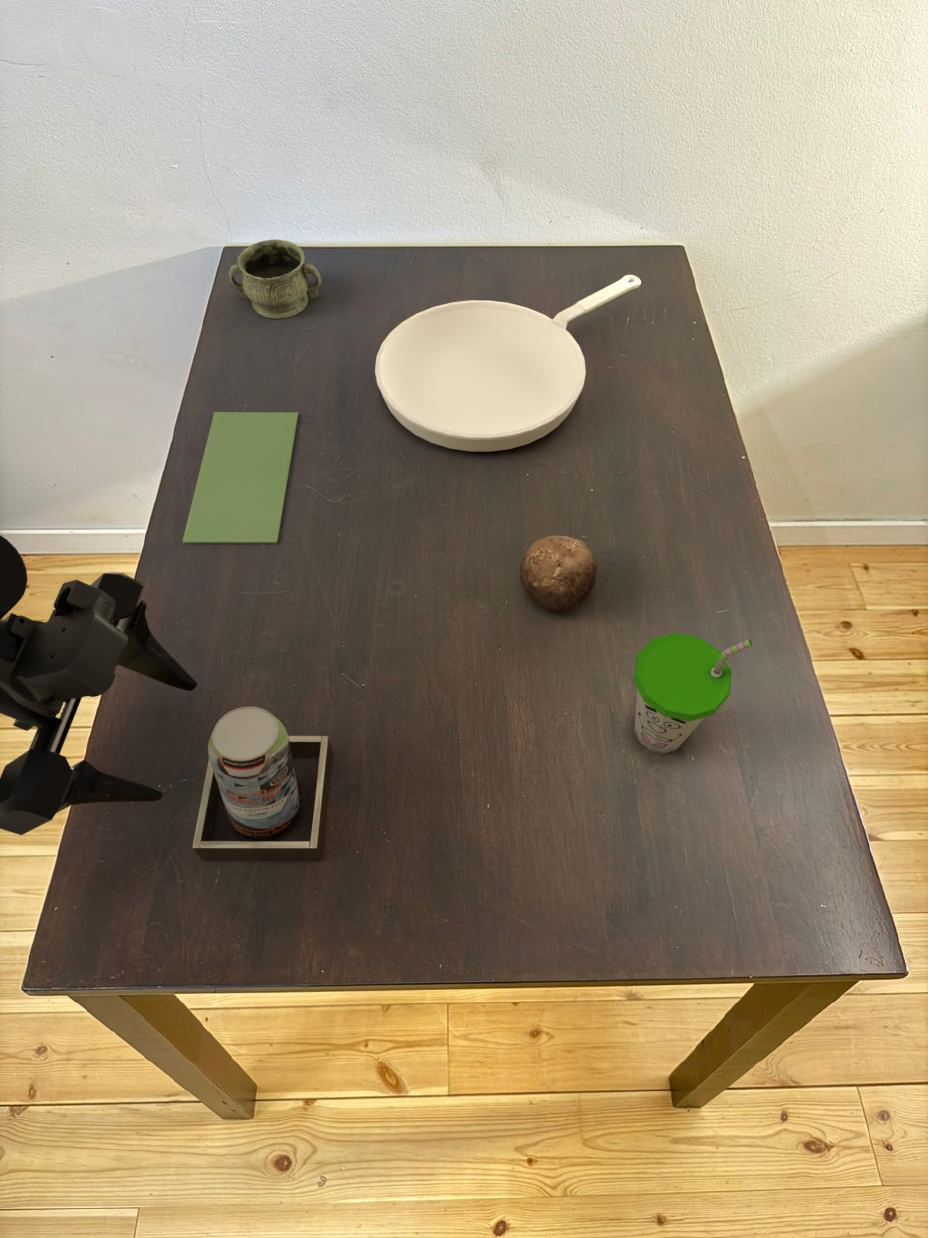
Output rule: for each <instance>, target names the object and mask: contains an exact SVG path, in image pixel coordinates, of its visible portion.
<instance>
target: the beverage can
mask: <svg viewBox="0 0 928 1238" xmlns="http://www.w3.org/2000/svg"><path fill="white" fill-rule="evenodd" d="M288 736H289V735H288V731H287V729H286V727H285V726H284V724H283V722H281V720H280V719H279V718H277V717H276V716H274V715H273V714H272V713H271V712H270V711H268V710H266V709H264V708H262V707H259V706H243V707H238V708H235V709H233V710H229V712H227V713H226V714H224V715H223V716H222V717H221V718H220V719H219V720H218V721H217V722H216V724H215V725H214V728H213V730H212V732H211V734H210V738H209V740H208V745H207V753H208V759H209V758H210V761H211V764H212V767H213V771H214V774H215V777H216V780H217V783H218V786H219V789H220V797H221V798H222V802H223V805H224V808H225V812H226V815H227V817H228V821H229V822H230V825H231V826H232V827H233V829H234V830H236V832H237V833H240V834H241V835H243V836H244V837H247V838H250V839H251V838H252V839H266V838H271V837H274V836H277V835H279V834H281V833H283V832H284V831H285V830H287V829H288V828H289V827H291V825H292V824H293V823H294V821H295V820H296V818H297V817H298V815H299V812H300V808H301V796H300V792H299V786H298V782H297V781H298V780H297V777H296V771H295V770H296V769H295V766H294V760H293V757H292V755H291V750H290V744H289V739H288Z"/></svg>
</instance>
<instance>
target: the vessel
mask: <svg viewBox="0 0 928 1238" xmlns="http://www.w3.org/2000/svg"><path fill="white" fill-rule="evenodd" d="M304 262H305V253H304V251H303V249H302V248H301V247H300V246H298V244H296V243H294V242H292V241H289V240H282V239H277V238H276V239H268V240H267V239H266V240H261V241H258V242H255V243H253V244H251V245H249V246H248V247H246V248H244V249H243V250H242V251H241V252H240V254H239V255H238V257H237V263H235V264H231V266H230V268H229V271H228V278H229V281H230V283H231V285H232V286H233V287H234V288H235V289H237V291H238V296H240V297H241V298H248V299H249V300H250V301H251V307H252V309H253V310H254V311H255V312H256V313H257V314H258V315H260V316H262V317H264V318H267V319H274V320H277V319H286V318H287V319H288V318H290V317H293V316H296V315H298V314H299V313H300V312H302V311H304V309H305V308H306V307H307V305H308V303H309V299H308V295H309V297H310V299H315V298H317V297H318V296H319V292H318V289H319V288H320V287H321V284H322V277H321V273H320V272H319V270H318V269H317V268H316V267H315V266H314V265H313V264H311V263H304ZM235 274H242V283H239V282H237V281H236V280H235V277H234V276H235ZM309 274H310V275H312V276H314V277H315V283H312V284H310V278H309ZM307 293H308V294H307Z"/></svg>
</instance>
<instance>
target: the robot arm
mask: <svg viewBox="0 0 928 1238" xmlns="http://www.w3.org/2000/svg"><path fill="white" fill-rule="evenodd" d="M27 585H28V571H27V567H26V563H25V561H24V559H23V557H22V555H21V554H20V552H19V551H18V549H17V548H16V547H15V546H14V545H13V544H12V543H11V542H10V541H9V540H8V539H7V538H6V537H4V536H2V535H1V534H0V715H3V716H5V717H8V718H11V719H13V720H14V722H13V725H12V726H13V727H16V728H18V729H21V730H24V731H26V732H29V730H31V729H33V728H34V727H35V728H36V731H35V733H34V736H33V738H32V741H31V744H30V746H29V748H28V750H27V751H25V752H24V753H22V754H21V755H19V756H17V757H16V758H15V759H13V760H11V761H10V762H8V763H7V764H6V765H4V768H3V770H2V772H1V775H0V830H3V831H6V832H9V833H13V834H16V835H19V836H23V835H25V834H27V833H29V832H31V831H33V830H35V829H37V828H38V827H41V826H43V825H45V824H47V823H49V822H51V821H53V819H54V817H55V816H56V814H58V813H60V812H62V811H63V810H65V809H67V808H69V807H71V806H75V805H83V804H91V803H92V804H93V803H127V802H128V803H130V802H131V803H132V802H134V803H135V802H139V803H140V802H157V801H159V800H163V796H164V793H163V792H162V791H160V790H158V789H157V788H156V789H155V788H153V787H152V786H149V785H147V784H143V783H140V782H137V781H135V780H134V781H133V780H130V779H127V778H123V777H120V776H117V775H114V774H111V773H107V772H104V771H100V770H98V769H97V768H96V767H94V766H93V765H92V764H91V763H90V762H89V761H87V759H82V760H80V761H78V762H77V763H75V764H74V765H72V766H71V765H70V763H69V761H68V759H67V757H66V756H65V755H62V754H61V753H62V749H63V747H64V744H65V742H66V739H67V736H68V734H69V732H70V729H71V727H72V724H73V721H74V719H75V716H76V714H77V711H78V708H79V706H80V703H81V701H82V698H85V697H86V698H87V697H90V698H96V697H99V696H101V695H103V694H105V693H106V692H107V691H109V689H111V687H112V685H113V684H114V682H115V678H116V669H117V666H120V667H123V668H125V669H128V670H130V671H132V672H135V673H138V674H141V675H143V676H145V677H148V678H150V679H153V680H155V681H157V682H160V683H161V684H165V685H167V686H170V687H173V688H176V689H180V690H184V691H186V692H192V691H193V690H195V689H197V687H198V682H197V681H196V680H195V679H194V677H192V676H191V675H190V674H189V673H188V672H187V671H186V670H185V669H184V668H183V667H182V666H181V665H180V663H179V662H177V661H176V659H175V658H174V657H172V655H171V654H170V653H168V651H167V650H166V649H165V648H164V647H163V646H162V645H161V644H160V642H159V641H158V640H157V638H155V636H154V635H153V634H152V632H151V630H150V628H149V625H148V624H149V623H148V621H147V616H146V610H147V606H148V605H147V603H146V601H145V600H143V599H141V600H139V599H140V597H141V594H142V591H143V588H144V585H143V583H142V582H141V581H139V580H137V579H135V578H133V577H131V576H129V575H127V574H126V573H124V572H113V571H111V572H104V573H102V574H101V575H100V576H99V577H98V578H97V579H96V580H94V581H93V582H92V583H90V584H89V583H86V582H84V581H81V580H79V579H74V580H70V581H66V582H63V583H62V584H61V587H60V589H59V591H58V593H57V596H56V597H55V599H54V603H53V608H54V609H52V611H51V614H50V616H49V618H48V620H47V621H41V620H40V621H39V620H33V619H31V618H29V617H27V616H25V615H17V614H16V613H13V612H11V613H10V614H9V612H10V611H11V610H13V608H14V607H15V606H16V605H17V604H18V603H19V602H20V601H21V599H22V598H23V597H24V595H25V593H26V589H27ZM7 614H9V615H7ZM6 615H7V616H6ZM4 617H5V619H4ZM59 714H60V715H59ZM57 715H59V717H57Z"/></svg>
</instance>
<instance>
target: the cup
mask: <svg viewBox="0 0 928 1238" xmlns="http://www.w3.org/2000/svg"><path fill="white" fill-rule="evenodd" d="M750 647H753V642H752V640H751V639H750V638H749V639H746V640H744V641H742V642H739V643H738V644H734V645H733V646H730V647H728V648H726V649H725V650H723V652H721V651H720V650H719V649H717V648H716V647H714V646H713V645H712V644H710V643H708V642H707V641H705V640H704V639H703V638H701V637H699V636H694V635H689V634H684V633H678V632H672V633H669V634H665V635H661V636H657V637H653V638H651V640H650V641H649V642H648V643H647V644H645V646H644V647H643V648H642V649H641V650H640V651H639V652H638V653H637V656H636V659H635V665H634V673H633V679H632V680H633V682H634V685H635V686H636V688H637V690H636V701H635V702H636V705H635V715H634V716H635V717H634V729H633V732H634V735H635V737H636V740H637V741H638V743H639V745H641V746H643V747H644V748H645V749H646V750H647V751H649V752H651V753H656V754H661V755H666V754H669V753H673V752H676V751H677V750H678V749H679V747H681V745H682V744H683V743H684V742H685V741H686V740H687V739H688V737H689V736H690V735H691V734H692V732H694V730H695V729H696V728H697V727H698V726H699V725H700V724H701V722H702V721H703V720H704V719H705V718H706V717H710V716H714V714H715V713H716V712H717V711H718V710H719V709H720V708H721V707H722V706H723V704H724V703H725V702H726V701H727V700H728V698H729V696H730V695H731V685H732V670H731V668H730V666H729V665H728V663H727V661H728V658H729V657H730V656H733V655H735V654H737V653H739V652H741V651H744V650H746V649H749V648H750Z"/></svg>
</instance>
